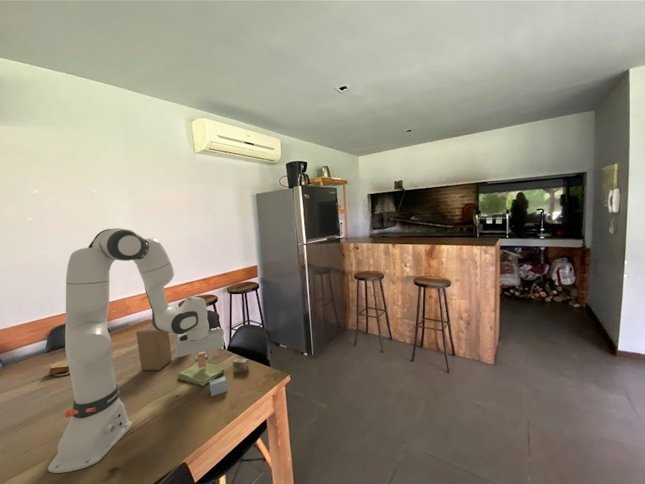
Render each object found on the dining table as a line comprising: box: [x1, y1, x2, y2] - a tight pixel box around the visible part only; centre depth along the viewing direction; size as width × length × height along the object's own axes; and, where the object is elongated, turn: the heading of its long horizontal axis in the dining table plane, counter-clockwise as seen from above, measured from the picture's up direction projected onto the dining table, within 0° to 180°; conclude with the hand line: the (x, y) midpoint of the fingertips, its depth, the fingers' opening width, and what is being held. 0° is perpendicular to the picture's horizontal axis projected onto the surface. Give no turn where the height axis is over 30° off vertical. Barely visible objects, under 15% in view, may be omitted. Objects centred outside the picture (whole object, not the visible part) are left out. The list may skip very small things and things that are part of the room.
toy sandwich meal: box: [48, 360, 70, 377], centre depth 138 cm, size 12×14×5 cm
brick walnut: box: [232, 358, 249, 373], centre depth 128 cm, size 6×3×5 cm, turn 78°
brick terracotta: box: [196, 351, 208, 368], centre depth 126 cm, size 6×3×5 cm, turn 20°
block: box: [136, 323, 173, 371], centre depth 137 cm, size 10×10×20 cm
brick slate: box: [208, 376, 228, 397], centre depth 113 cm, size 6×3×5 cm, turn 119°
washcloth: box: [177, 362, 225, 387], centre depth 126 cm, size 13×18×3 cm
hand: (202, 360), depth 126 cm, fingers closed on brick terracotta, 3 cm apart
